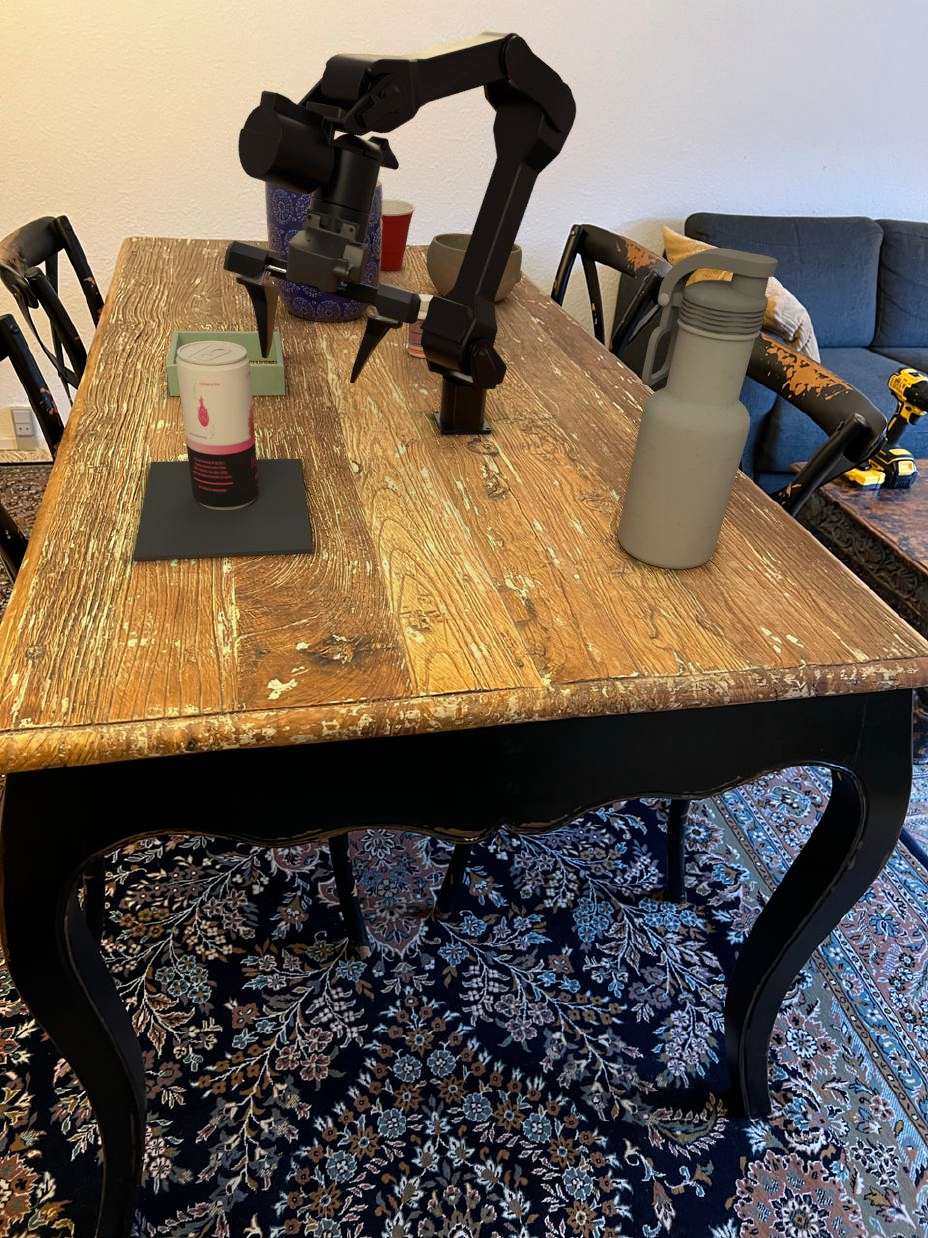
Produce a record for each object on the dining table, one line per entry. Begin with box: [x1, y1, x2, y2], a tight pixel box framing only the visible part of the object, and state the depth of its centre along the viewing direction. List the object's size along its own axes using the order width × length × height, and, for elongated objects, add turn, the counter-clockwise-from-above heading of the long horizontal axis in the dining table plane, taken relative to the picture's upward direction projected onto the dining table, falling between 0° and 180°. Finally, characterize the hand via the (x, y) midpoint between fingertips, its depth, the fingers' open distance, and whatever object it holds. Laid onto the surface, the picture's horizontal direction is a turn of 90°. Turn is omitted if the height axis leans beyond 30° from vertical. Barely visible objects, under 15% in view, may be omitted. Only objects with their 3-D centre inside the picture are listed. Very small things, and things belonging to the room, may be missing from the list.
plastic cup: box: [380, 198, 416, 272], centre depth 169 cm, size 11×11×12 cm
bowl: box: [425, 232, 523, 303], centre depth 155 cm, size 17×18×10 cm
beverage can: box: [176, 341, 259, 510], centre depth 82 cm, size 7×7×15 cm
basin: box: [165, 330, 286, 397], centre depth 114 cm, size 15×15×4 cm
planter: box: [264, 179, 384, 323], centre depth 137 cm, size 18×18×21 cm
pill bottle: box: [407, 293, 434, 359], centre depth 127 cm, size 5×5×8 cm
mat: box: [132, 458, 314, 562], centre depth 85 cm, size 20×16×1 cm
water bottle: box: [617, 247, 779, 570], centre depth 77 cm, size 10×10×28 cm
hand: (308, 370), depth 86 cm, fingers open, 9 cm apart
